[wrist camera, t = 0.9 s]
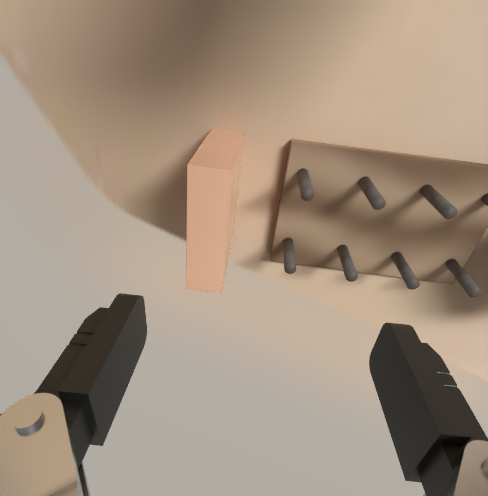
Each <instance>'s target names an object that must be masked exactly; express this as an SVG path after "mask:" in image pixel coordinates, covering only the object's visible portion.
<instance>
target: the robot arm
mask: <svg viewBox="0 0 488 496" xmlns="http://www.w3.org/2000/svg"><path fill="white" fill-rule="evenodd" d="M146 334H147V325H146V315H145V305H144V299H143V296H139V295H129V294H118V295H117V296H116V298H115V299H114V301H113V302H112V304H111V306H110V307H109V308H99V309H97V310H96V311H95V312H94V313H92V314H91V315H90V316H88V317H87V318H86V319H85V320H84V322H83V323H82V325H81V326H80V328H79V329H78V331H77V334H75V335H74V337H73V338H72V340H71V341H70V344H69V345H67V347H66V348H65V350H64V351H63V353H62V354H61V356H60V357H59V359H58V360H57V362H56V363H55V364H54V366H53V367H52V369H51V370H50V372H49V373H48V375H47V376H46V378H45V379H44V381H43V382H42V384H41V385H40V387H39V388H38V389H37V391H36V392H35V393H34V394H32V395H29V396H26V397H24V398H22V399H20V400H18V401H17V402H15V403H14V404H12V405H11V406H10V407H9V408H7V409H6V410H5V411H4V412H3V413H2V414H0V496H90V492H89V488H88V483H87V478H86V474H85V470H84V465H83V461H82V460H83V458H84V456H85V454H86V452H87V449H88V447H89V445H90V444H91V445H100V446H103V443H104V441H105V439H106V436H107V434H108V432H109V429H110V427H111V424H112V422H113V420H114V417H115V415H116V412H117V410H118V407H119V405H120V403H121V400H122V398H123V396H124V393H125V391H126V388H127V386H128V384H129V381H130V379H131V376H132V374H133V372H134V369H135V367H136V364H137V362H138V359H139V357H140V355H141V352H142V350H143V348H144V345H145V341H146ZM369 366H370V372H371V375H372V378H373V381H374V384H375V388H376V391H377V394H378V397H379V400H380V403H381V406H382V409H383V412H384V415H385V418H386V422H387V425H388V428H389V431H390V434H391V437H392V440H393V443H394V446H395V449H396V452H397V455H398V459H399V462H400V465H401V468H402V470H403V474H404V477H405V480H406V481H414V482H422V485H423V488H424V490H425V494H424V495H423V496H488V438H487V437H486V435H485V433H484V431H483V430H482V428H481V426H480V424H479V423H478V421H477V419H476V417H475V416H474V414H473V412H472V410H471V409H470V407H469V405H468V404H467V402H466V400H465V398H464V396H463V395H462V393H461V391H460V390H459V389H458V388H457V384H456V383H455V381H454V379H453V377H452V376H451V375H450V374H449V373H450V372H449V370H448V368H447V367H446V365H445V363H444V361H443V360H442V358H441V357H440V356H439V355H438V354H437V353H436V352H435V351H434V350H433V349H432V348H431V347H430V346H429V345H428V344H427V343H421V341H420V340H419V338H418V336H417V334H416V332H415V330H414V329H413V327H412V326H410V325H404V324H394V323H385V324H384V325H383V326H382V329H381V331H380V333H379V335H378V338H377V340H376V343H375V345H374V347H373V349H372V352H371V355H370V360H369Z"/></svg>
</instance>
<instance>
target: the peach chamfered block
mask: <svg viewBox="0 0 488 496" xmlns="http://www.w3.org/2000/svg"><path fill="white" fill-rule="evenodd" d="M243 138H244V133H240V132H232V131H224V130H216V129H211V131H210V132H209V134H208V135H207V136H206V138H205V139H204V141H203V142H202V144H201V145H200V147H199V148H198V150H197V151H196V153H195V154H194V155H193V157H192V158H191V160H190V161H189V163H188V164H187V254H186V255H187V256H186V289H191V290H199V291H206V292H214V293H222V289H223V284H224V279H225V274H226V269H227V264H228V259H229V254H230V249H231V244H232V239H233V234H234V225H235V215H236V206H237V196H238V186H239V176H240V167H241V157H242V147H243Z"/></svg>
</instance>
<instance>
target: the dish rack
mask: <svg viewBox="0 0 488 496" xmlns="http://www.w3.org/2000/svg"><path fill="white" fill-rule="evenodd" d="M487 227H488V164H480V163H473V162H465V161H457V160H449V159H441V158H434V157H426V156H418V155H410V154H402V153H395V152H387V151H379V150H371V149H363V148H356V147H348V146H340V145H332V144H324V143H317V142H309V141H301V140H293V139H291V144H290V149H289V155H288V160H287V166H286V171H285V176H284V182H283V187H282V193H281V198H280V204H279V209H278V214H277V220H276V225H275V231H274V236H273V242H272V247H271V253H270V261H278V262H284V269H285V272H286V273H289V274H291V273H294V272H295V271H296V264H301V265H309V266H317V267H324V268H332V269H340V270H344V274H345V277H346V279H347V280H348V281H355V280H356V279H357V278H358V275H357V272H363V273H371V274H379V275H386V276H394V277H402V278H403V280H404V281H405V283H406V285H407V287H408V288H409V289H416V288H418V287H419V285H420V283H419V281H418V280H425V281H433V282H441V283H448V284H454V282H455V280H456V279H457V281H458V282H459V283H460V284H461V286H462V287H463V288H464V290H465V291H466V292H467V293H468V295H469V296H470V297H477V296H479V295H480V294H481V292H482V291H481V289H480V288H479V287H478V286H477V285H476V283H475V282H474V281H473V280H472V279H471V278H470V276H469V275H468V274H467V273H466V272H465V270H464V269H463V267H464V265H465V264H466V262H467V260H468V259H469V257H470V255H471V254H472V252H473V250H474V249H475V247H476V245H477V244H478V242H479V240H480V239H481V237H482V235H483V234H484V232H485V231H486V229H487Z"/></svg>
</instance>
